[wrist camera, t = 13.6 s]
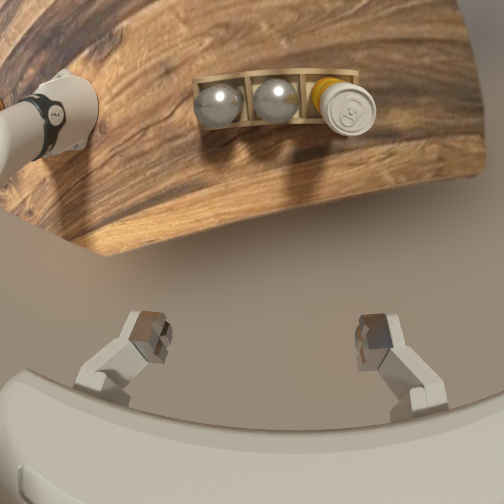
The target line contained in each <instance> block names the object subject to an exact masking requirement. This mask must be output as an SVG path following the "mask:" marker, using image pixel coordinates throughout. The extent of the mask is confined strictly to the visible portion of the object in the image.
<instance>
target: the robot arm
mask: <svg viewBox="0 0 504 504" xmlns="http://www.w3.org/2000/svg"><path fill="white" fill-rule="evenodd" d="M97 116H98V100H97V95H96V93H95V90H94V88H93V87H92V85H91V84H90V83H89V82H88V81H87V80H86V79H84V78H82V77H79V76H76V75H74V74H73V73H72V72H71V71H70V70H68V69H63V70H61V71H60V72H59V73H58V74H56V75H55V76H54V77H53V78H52V79H51V80H50V81H48V82H46V83H43V84H41V85H40V86H39V88H38V89H37V90H36V91H35V92H34V93H33V95H29V96H27V97H25V98H23V99H21V100H19V101H18V102H17V103H16V104H15V105H13V106H11V107H8V108H6V109H4V110H2V111H0V190H1V189H2V187H3V186H4V184H5V183H6V182H7V181H8V180H9V179H10V178H11V177H12V176H13V175H14V174H15V173H16V172H18V171H19V170H20V169H21V168H23V167H24V166H25V165H27V164H28V163H29V162H31V161H36V160H37V159H39V158H42V157H43V158H44V159H45V158H48V157H50V156H56V155H57V154H60V153H62V152H64V151H72V150H82V149H84V148H85V147H86V145H87V141H88V136H89V134H90V132H91V131H92V129H93V128H94V126H95V123H96V120H97ZM77 144H78V145H77ZM165 320H166V316H165V314H164V313H160V312H150V311H142V310H133V311H131V312H130V314H129V317H128V319H127V321H126V323H125V325H124V327H123V329H122V332H121V334H120V336H119V338H115V339H114V340H113V341H112V342H111V343H109V344H108V345H107V346H106V347H104V348H103V349H102V350H101V351H99V352H98V353H97V354H96V355H94V356H93V357H92V358H91V359H90V360H89V361H87V362H86V363H85V364H83V365H82V367H81V370H80V372H79V374H78V377H77V379H76V381H75V384H74V386H73V388H70V387H68V386H66V385H63V384H61V383H58V382H56V381H54V380H52V379H49V378H47V377H45V376H43V375H41V374H39V373H37V372H35V371H33V370H30V369H24V370H22V371H20V372H19V373H18V374H16V375H15V376H14V377H13V378H11V379H10V380H9V381H7V383H6V384H5V385H4V387H3V388H2V390H1V392H0V504H504V391H502V392H499V393H497V394H494V395H492V396H489V397H486V398H484V399H481V400H478V401H475V402H472V403H469V404H466V405H463V406H460V407H457V408H453V409H450V410H449V408H448V402H447V397H446V392H445V388H444V383H443V381H442V380H441V379H440V378H439V377H438V376H437V374H436V373H435V372H434V371H433V370H432V369H431V368H430V367H429V366H428V365H427V364H426V363H425V362H424V361H423V360H422V359H421V358H420V357H419V356H418V355H417V354H416V353H415V352H414V351H413V350H412V349H411V348H410V347H409V346H406V345H405V341H404V337H403V333H402V329H401V326H400V322H399V318H398V315H397V314H396V313H387V314H383V313H382V314H369V315H361V316H360V318H359V326H357V328H356V332H355V347H356V349H357V350H358V351H359V353H358V356H357V363H358V371H373V370H378V373H379V374H380V375H381V377H382V378H383V379H384V381H385V382H386V384H387V385H388V386H389V388H390V389H391V390H392V392H393V393H394V394H395V396H396V397H397V399H398V400H399V402H398V403H397V404H396V405H395V406H394V407H393V408H392V409H391V411H390V423H386V424H379V425H371V426H364V427H354V428H342V429H328V430H264V429H248V428H236V427H227V426H219V425H211V424H204V423H198V422H191V421H186V420H180V419H175V418H170V417H165V416H161V415H156V414H152V413H148V412H144V411H140V410H136V409H133V408H129V407H128V405H129V402H130V399H131V397H130V395H129V394H128V393H126V392H125V391H124V390H123V389H124V388H125V387H126V386H127V385H128V384H129V382H130V381H131V380H132V379H133V378H134V377H135V376H136V375H137V374H138V373H139V372H140V371H141V370H142V369H143V368H144V367H145V365H147V363H148V362H151V363H159V364H164V363H165V359H166V356H167V353H168V351H167V348H166V347H167V346H168V345H169V344H170V343H171V341H172V333H173V332H172V327H171V325H170V324H169V323H168V322H167V321H165Z"/></svg>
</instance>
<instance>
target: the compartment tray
mask: <svg viewBox="0 0 504 504" xmlns="http://www.w3.org/2000/svg"><path fill="white" fill-rule="evenodd" d="M327 77H332V78H336V79H339V80H342V81H346V82H349V83H352V84H355V85H357V86H359V74H358V71H355V70H344V69H319V68H297V69H271V70H258V71H247V72H238V73H230V74H222V75H215V76H209V77H203V78H198V79H194V80H192V84H193V90H194V96H195V100H196V97H197V96H198V95H199V93H200V92H202V91H203V90H205V89H207V88H209V87H212V86H215V85H217V84H220V83H231V84H234V85H236V86H238V87H239V88H240V89H241V90H242V92H243V94H244V98H245V103H244V107H243V109H242V110H241V112H240V113H239V114H238V115H237V116H236V117H235V119H234V120H233V121H232V122H231V123H230V124H228V125H227V126H224V127H221V128H211V127H208V126H205V125H204V124H202V123H201V122H200V121H199V125H200V130H201V131H207V130H215V129H223V128H233V127H244V126H257V125H274V124H313V123H316V124H327V123H326V122H325V120H324V119H323V117H322V116H321V114H320V113H319V112H318V110H317V109H316V107H315V106H314V104H313V102H312V100H311V90H312V87H313V85H314V84H315V83H316V82H317V81H318V80H320V79H322V78H327ZM272 78H282V79H285V80H287V81H288V82H290V83H291V84H292V85H293V86H294V88H295V90H296V92H297V94H298V97H299V108H298V110H297V112H296V114H295V115H294V116H293V117H292V118H291V119H290V120H288V121H286V122H282V123H271V122H268V121H265V120H263V119H262V118H261V117H260V116H259V115H258V114H257V113H256V111H255V109H254V107H253V96H254V93H255V91H256V90H257V88H258V87H259V86H260V85H261V84H262V83H264V82H265V81H267V80H269V79H272Z"/></svg>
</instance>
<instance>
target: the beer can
mask: <svg viewBox="0 0 504 504" xmlns="http://www.w3.org/2000/svg"><path fill="white" fill-rule="evenodd" d="M311 100H312V102H313V104H314V106H315V107H316V109H317V110H318V112H319V113H320V114H321V116H322V117H323V119H324V120H325V122H326V123H327V125H328V126H329V127H330V128H331V129H332V130H333V131H335V132H336V133H338V134H341V135H344V136H357V135H360V134H363V133H365V132H366V131H368V130H369V129H370V128H371V126H372V125H373V123H374V121H375V117H376V106H375V102H374V100H373V98H372V97H371V95H370V94H369V93H368V92H367V91H366V90H365V89H363V88H362V87H360V86H357V85H355V84H352V83H349V82H346V81H342V80H339V79H336V78H332V77H327V78H322V79H320V80H318V81H317V82H316V83H315V84H314V85H313V87H312V90H311Z"/></svg>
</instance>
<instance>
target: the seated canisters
mask: <svg viewBox="0 0 504 504" xmlns="http://www.w3.org/2000/svg"><path fill="white" fill-rule="evenodd" d="M244 103H245V98H244V94H243V92H242V90H241V89H240V88H239V87H238V86H236V85H234V84H231V83H220V84H217V85H215V86H212V87H209V88H207V89H205V90H203V91H202V92H200V93H199V95H198V96H197V97H196V100H195V102H194V112H195V115H196V117H197V119H198V120H199V121H200V122H201V123H202V124H204V125H205V126H208V127H211V128H221V127H224V126H227V125H228V124H230V123H231V122H232V121H233V120H234V119H235V117H236V116H237V115H238V114H239V113H240V112H241V110H242V109H243V107H244ZM253 107H254V109H255V111H256V113H257V114H258V115H259V116H260V117H261V118H262V119H263V120H265V121H268V122H271V123H282V122H286V121H288V120H290V119H291V118H292V117H293V116H294V115H295V114H296V112H297V110H298V108H299V97H298V94H297V92H296V90H295V88H294V86H293V85H292V84H291V83H290V82H288V81H287V80H285V79H282V78H272V79H269V80H267V81H265V82H264V83H262V84H261V85H260V86H259V87H258V88H257V90H256V91H255V93H254V96H253Z"/></svg>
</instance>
